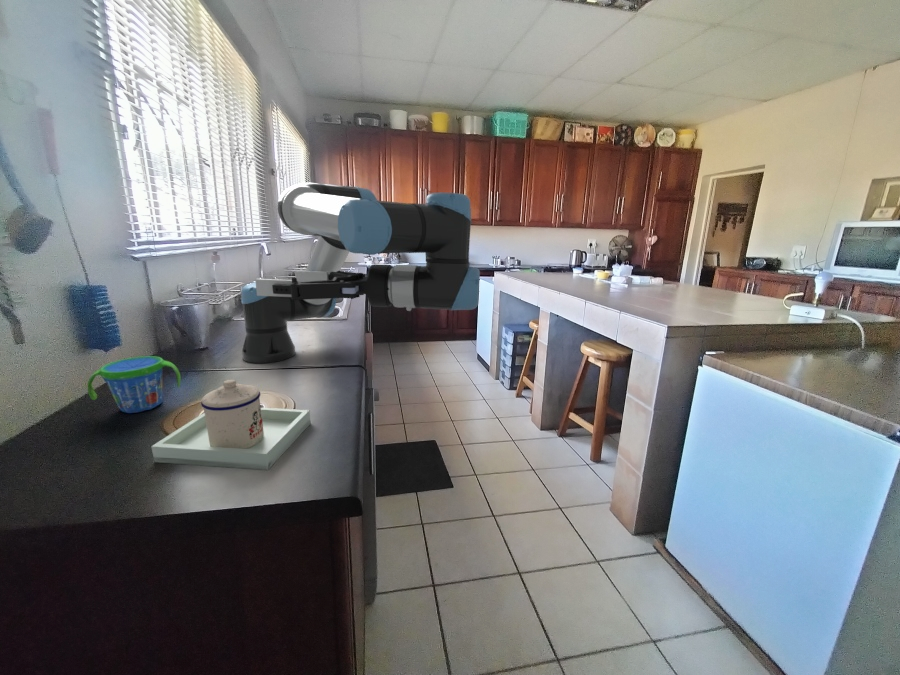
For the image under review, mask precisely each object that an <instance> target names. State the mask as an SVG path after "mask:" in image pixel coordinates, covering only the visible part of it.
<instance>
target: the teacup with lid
mask: <svg viewBox="0 0 900 675" xmlns="http://www.w3.org/2000/svg"><path fill="white" fill-rule="evenodd" d="M260 397H261V391H260V390H259V388H257V387H256V386H254V385H250V384H241V383H237V381H236V379H225V380H224V381H223V383H222V385H221V386H219V387H218V388H216V389H214V390H210V392H208V393H206V394H205V395H203V397H202V399H201V404H200V405H201V407H202V408H203V411H204V412H203V413H205V419H206V425H207V431H208V437H209V443H210V447H222V448H238V449H247V448H250V447H252V446H254V445H255V444H257V443H258V442H259V441H260V440H261V439H262V438H263V435H264V431H263V423H262V415H261V400H260Z"/></svg>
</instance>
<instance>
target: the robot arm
mask: <svg viewBox="0 0 900 675" xmlns="http://www.w3.org/2000/svg"><path fill="white" fill-rule="evenodd" d="M277 214H278V216H279V219H280V220H281V222H282V224H283V225H284V226H285V227H286V228H287V229H289V230H290V231H293V232H294V233H297V234H299V235H305V236H312V237H318V238H317V241H316V244H315V245H314V248H313V252H312V254H311V257H310V259H309V261H308V264H307V266H306V269H305V270H295V271H294V273H295V274H294V275H295V276H294V277H291V279H278V278H277V279H275V278H274V279H273V278H255V280H254V281H255V282H251V283H248V284H246V285H244V286H243V287H242V288H241V292H240V293H241V305H242V312H243V320H244V321H243V322H244V328H245V329H244V330H245V337H244V341H243V345H242V346H243V347H242V350H241V354H242V360H244V362H248V363H254V364H261V363H262V364H263V363H265V364H267V363H268V364H269V363H274V362H281V361H283V360H287V359H288V360H289V359H290V358H292V357H293V356H295V355H296V346H295V344H294V342H293V340H292V337H291V336H290V333H289V331H288V325H287V323H288V322H289V321H299V320H306V319H314V318H316V319H320V318H323V317H328V316H330V315H332V313H333V312H334V311H335V308H336V305H337V304H336V302H337V299H352V300H353V299H356V298H360V297H361V296H364V295H366V297H367V300H368V303H369V305H370V306H372V307H375V308H390V307H392V306H393V307H394V308H405V309H406V311H407V312H412V309H425V310H426V309H427V310H430V309H431V310H444V311H445V310H447V311H470V310H471V311H472V310H475V309H476V308H477V307H478V305H479V295H480V275H481V271H480V270H479V268H477V267H473V266H470V258H469V257H470V243H471V242H470V241H471V240H470V238H471V226H472V208H471V200H470V198H469V197H468V195H466V194H463V193H459V192H458V193H457V192H456V193H455V192H432V193H429V194H428V195H427V196H426V201H425V203H416V202H415V203H414V202H413V203H411V202H409V203H407V202H405V203H404V202H396V201H387V200H386V201H385V200H378V199H377V197H376V195H375V194H374V192H372V190H370V189H367V188H362V187H358V186H347V185H340V184H339V185H337V184H329V183H328V184H327V183H317V182H301V183H297V184H294V185H290V187H287V188H286V189H285V190H283V191H282V193H281V194H280V196H279V198H278V201H277ZM350 253H353V254H362V255H371V256H373V255H377V254H378V255H379V254H405V253H406V254H416V253H418V254H419V253H421V254H423V253H425V263H426V265H423V266H422V265H415V264H414V265H411V264H409V265H408V264H395V265H394V266H392V265H390V264H376V263H375V264H372V265H370V266H369V269H368V270H367V273H363V272H353V271H352V272H351V271H343V270H342V267H343V265H344V263H345V262H346V260H347V258H348V256H349V254H350ZM341 270H342V271H341Z"/></svg>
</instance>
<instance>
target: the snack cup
mask: <svg viewBox="0 0 900 675" xmlns="http://www.w3.org/2000/svg"><path fill="white" fill-rule="evenodd" d="M164 367H169V368H172V370H173V371H174V373H175V376H176V382H177V388H180V387H181V386H180V385H181V381H182V380H181V379H182V378H181V373H180V371H179V370H180V369H179V368H178V367H177V366H176V365H175V364H174V363H173V362H171V361H169V360H165V359H163V357H160V356H155V355H153V356H152V355H149V356H147V355H146V356H136V357H128V358H122V359H119V360H116V361H111V362H109V363H107V364H105V365H103V366H102V367H100V369H98V370H96V371H95V372H94V373H92V375H91V376H90V377H89V380H88V382H87V393H88V395H89V397H90V399H91V400H92V401H95V400H97V398H98V394H97V393H96V391H95V388H94V386H93V382H94V380H95V378H96V377H97V376H101V378H102V379H103V380H104V382H105V383H106V384H107V388H109V391H110V393H111V395H112V397H113V399H114V402H115V403H116V405H117V407H118V409H119V410H120V411H121V412H123V413H127V414H133V413H141V412H145V411H148V410H152V409H153V408H156V407H158V406H159V405H160V404H162V403H163V400H164V394H163V391H164V389H163V388H164V386H163V382H164V381H163V368H164Z"/></svg>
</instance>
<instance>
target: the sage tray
mask: <svg viewBox="0 0 900 675" xmlns="http://www.w3.org/2000/svg"><path fill="white" fill-rule="evenodd" d="M260 407H261V406H260ZM310 412H311V411H310V409H294V408H279V407H276V408H275V407H261V415H262V423H263V431H264V435H263V438H262V439H261V440H260V441H259V442H258V443H257V444H255V445H254V446H252V447H250V448H247V449H238V448H222V447H210V443H209V437H208V431H207V425H206V419H205V413H204V412H203V413H202V414H200V415H198V416H196V417H195V418H194V419H192V420H190V421H189V422H187V423H186V424H184V425H183V426H181V427H179V428H178V429H176V430H175V431H173V432H171V433H170V434H168V435H167V436H165V437H164V438H162V439H161V440H159V441H157V442H156V443H155V444H153V445H151V446H150V448H151V452H152V456H153V461H154V463H159V464H161V463H163V464H175V465H179V464H180V465H192V466H206V467H217V468H218V467H219V468H220V467H221V468H234V469H250V470H264V471H268V470H269V469H271V468H272V467H273V465H274V464H275V463H276V462H277V461H278V460H279V459H280V458H281V457H282V455H284V453H285V452H287V450H288V449H289V448H290V447H291V446H292V445H293V443H294V442H295V441H296V440H298V438H299V437H300V436H301V434H303V432H305V430H306V429H307V428H308V427H309V426H310V425H311V413H310Z"/></svg>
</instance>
